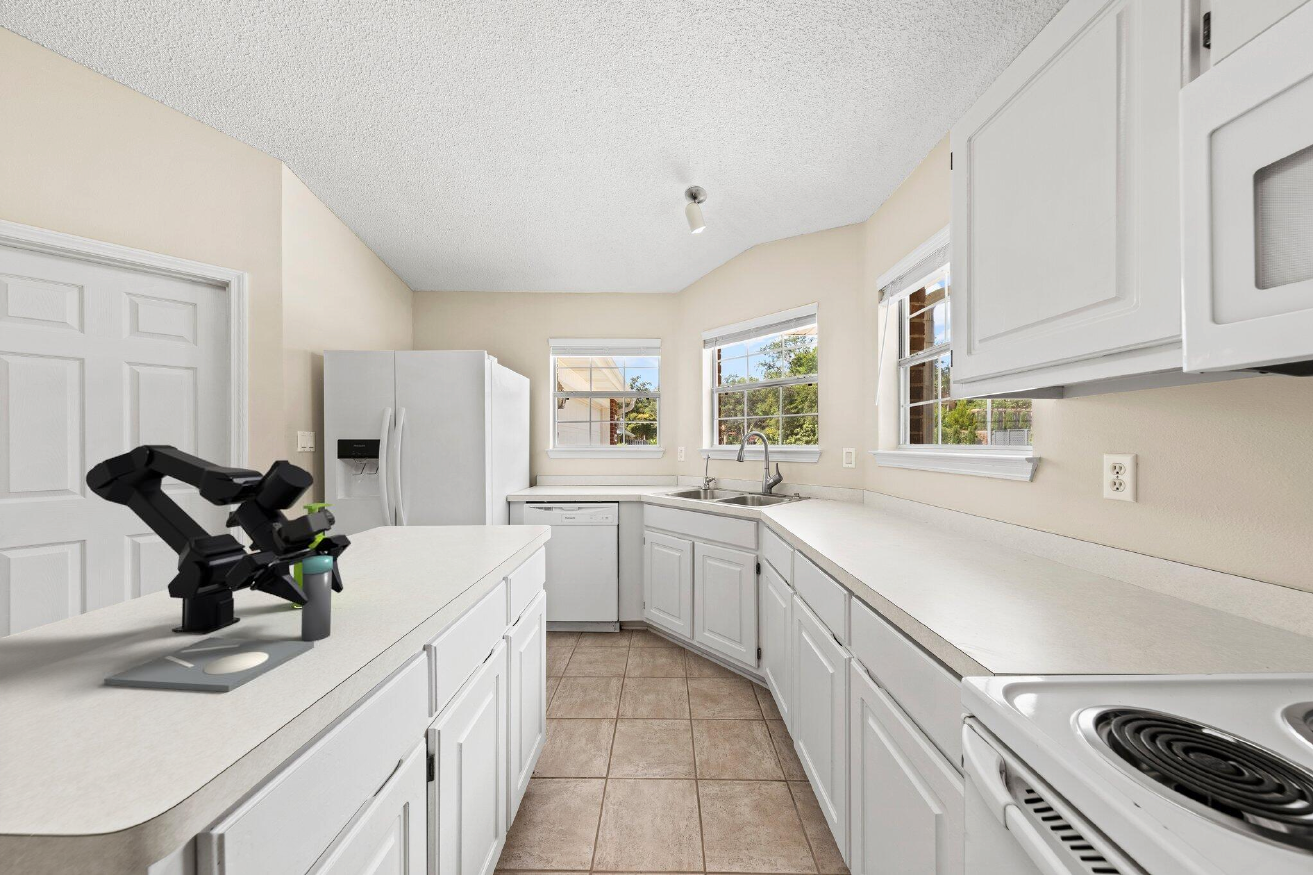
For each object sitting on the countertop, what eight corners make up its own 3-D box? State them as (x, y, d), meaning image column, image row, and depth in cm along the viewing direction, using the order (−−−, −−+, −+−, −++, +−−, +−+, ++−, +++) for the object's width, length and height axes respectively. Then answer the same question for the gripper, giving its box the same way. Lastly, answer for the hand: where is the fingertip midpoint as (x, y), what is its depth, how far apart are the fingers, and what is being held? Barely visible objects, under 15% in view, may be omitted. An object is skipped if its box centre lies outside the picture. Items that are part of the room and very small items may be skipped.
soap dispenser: (339, 598, 101) (341, 502, 102) (312, 609, 95) (315, 506, 95) (313, 597, 102) (315, 501, 102) (285, 607, 95) (287, 505, 95)
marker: (293, 641, 79) (295, 561, 79) (314, 631, 83) (315, 555, 84) (317, 642, 79) (319, 561, 79) (337, 632, 83) (338, 556, 83)
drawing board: (103, 684, 64) (104, 677, 64) (209, 642, 78) (209, 636, 78) (228, 691, 63) (228, 684, 63) (313, 647, 77) (314, 641, 77)
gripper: (242, 502, 73) (304, 579, 71) (343, 490, 91) (394, 552, 89) (198, 552, 74) (258, 630, 72) (306, 531, 93) (356, 592, 91)
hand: (324, 597), depth 81 cm, fingers open, 7 cm apart
